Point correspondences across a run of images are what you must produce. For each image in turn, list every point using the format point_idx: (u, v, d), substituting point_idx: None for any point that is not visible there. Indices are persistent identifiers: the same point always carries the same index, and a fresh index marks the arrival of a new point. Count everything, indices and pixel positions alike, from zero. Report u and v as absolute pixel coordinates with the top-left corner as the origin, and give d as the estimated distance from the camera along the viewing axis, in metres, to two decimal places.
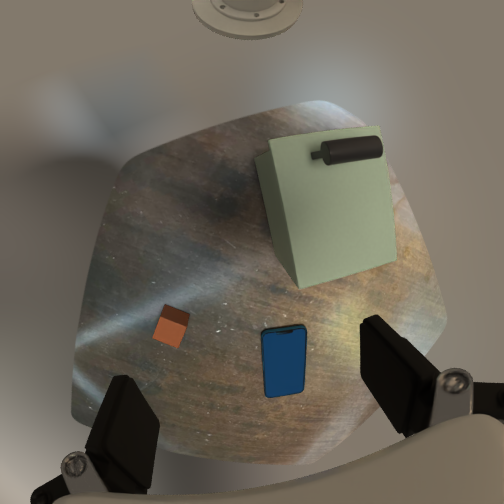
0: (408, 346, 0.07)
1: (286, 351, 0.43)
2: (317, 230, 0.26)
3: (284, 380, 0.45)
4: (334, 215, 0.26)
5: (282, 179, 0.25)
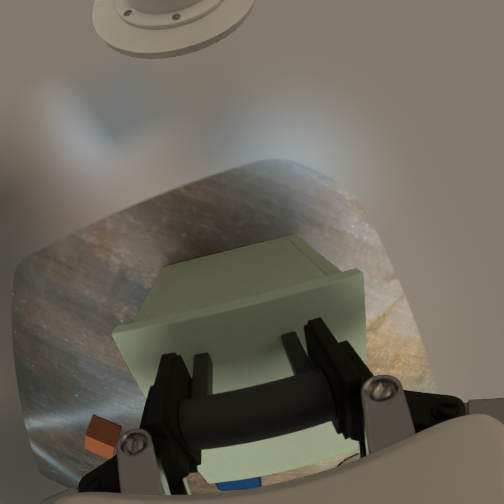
0: (340, 349, 0.08)
1: None
2: None
3: (237, 480, 0.33)
4: None
5: None
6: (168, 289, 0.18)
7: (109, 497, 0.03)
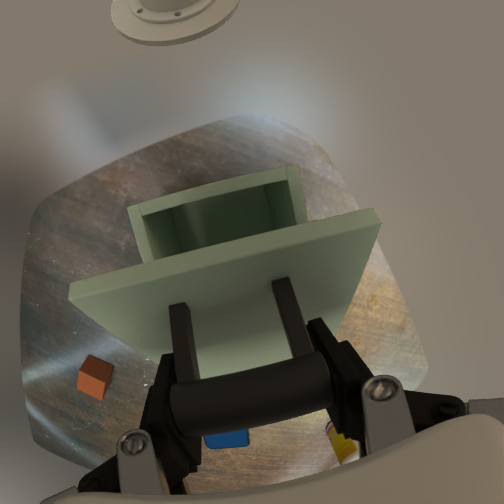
0: (341, 349, 0.08)
1: None
2: (201, 358, 0.16)
3: (225, 435, 0.37)
4: (228, 347, 0.15)
5: (122, 336, 0.12)
6: None
7: (109, 497, 0.03)
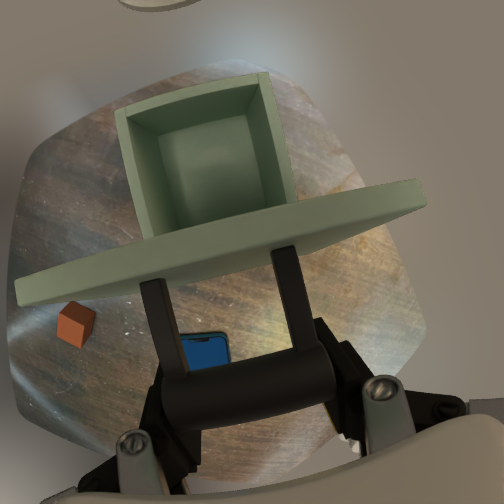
0: (341, 349, 0.08)
1: (206, 363, 0.36)
2: (175, 284, 0.15)
3: None
4: (206, 275, 0.14)
5: (88, 298, 0.10)
6: None
7: (109, 497, 0.03)
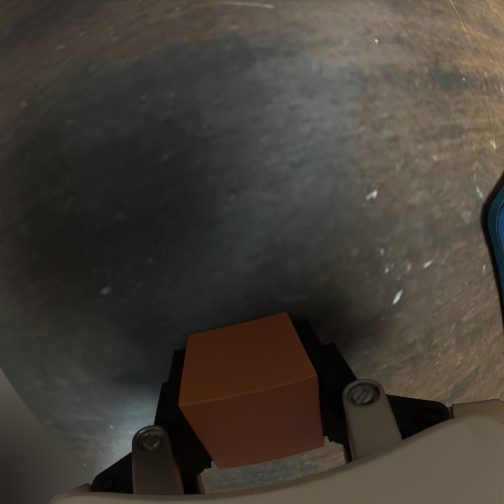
0: (324, 352, 0.08)
1: None
2: None
3: None
4: None
5: None
6: None
7: (109, 497, 0.03)
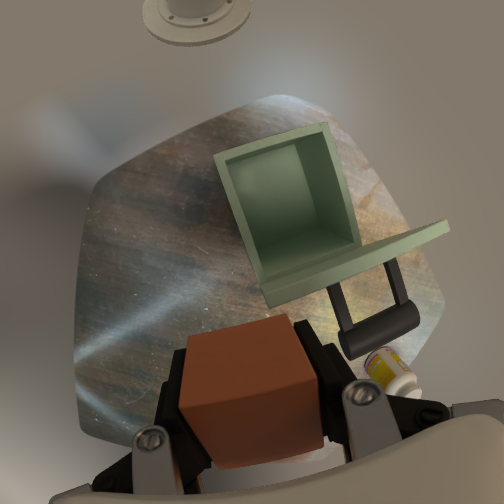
0: (324, 352, 0.08)
1: None
2: None
3: None
4: None
5: None
6: None
7: (109, 497, 0.03)
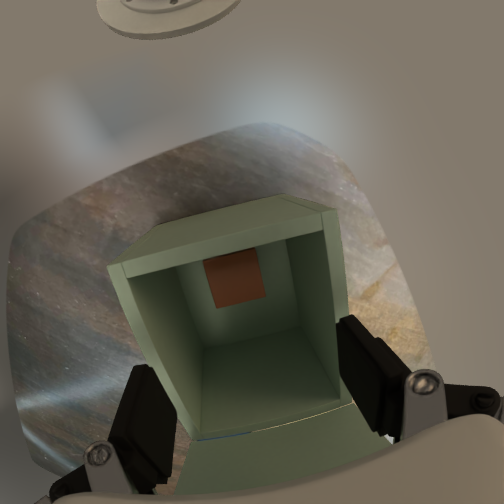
0: (379, 346, 0.08)
1: None
2: None
3: None
4: None
5: None
6: (156, 234, 0.18)
7: (109, 497, 0.03)
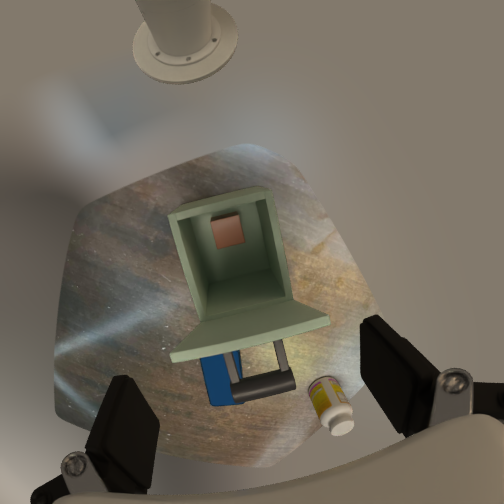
0: (408, 346, 0.07)
1: (223, 368, 0.49)
2: None
3: (225, 392, 0.50)
4: None
5: None
6: (186, 206, 0.36)
7: (109, 497, 0.03)
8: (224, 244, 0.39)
